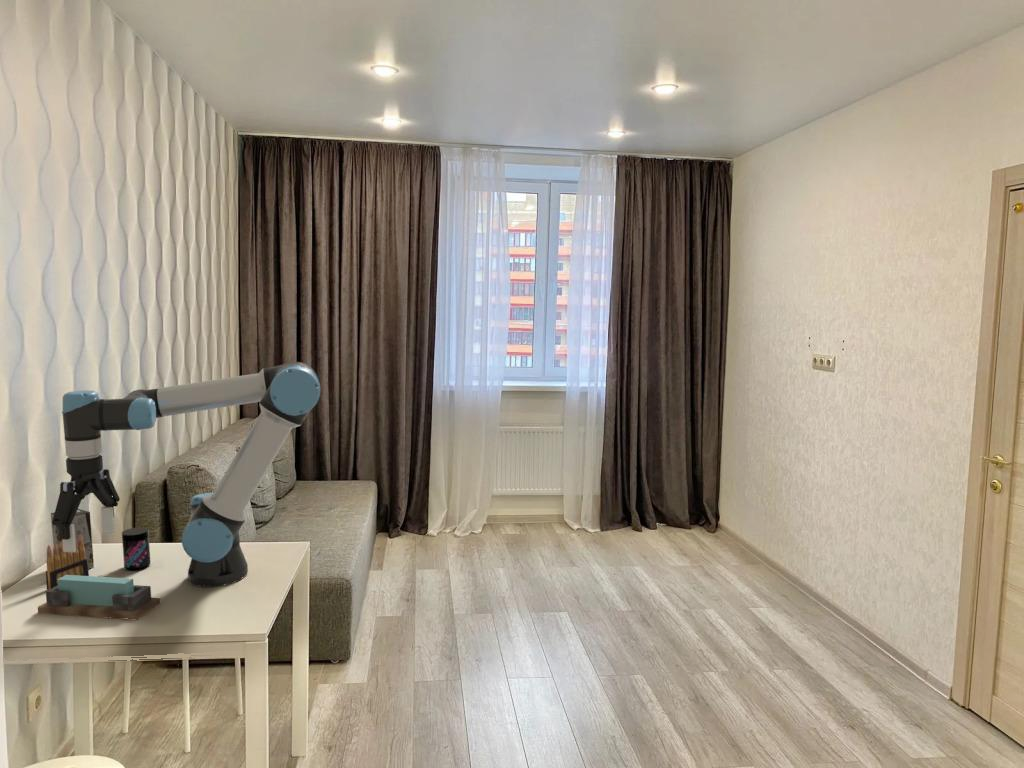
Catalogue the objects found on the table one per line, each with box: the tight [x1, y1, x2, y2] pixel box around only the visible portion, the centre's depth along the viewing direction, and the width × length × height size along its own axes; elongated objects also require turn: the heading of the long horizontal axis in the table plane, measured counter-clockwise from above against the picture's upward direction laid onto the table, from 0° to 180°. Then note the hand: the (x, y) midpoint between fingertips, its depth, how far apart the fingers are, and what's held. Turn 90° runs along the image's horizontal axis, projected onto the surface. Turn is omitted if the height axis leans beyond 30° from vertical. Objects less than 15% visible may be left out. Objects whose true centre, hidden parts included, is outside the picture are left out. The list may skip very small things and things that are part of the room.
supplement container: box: [121, 527, 151, 572], centre depth 206 cm, size 7×7×10 cm
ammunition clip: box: [45, 535, 90, 591], centre depth 195 cm, size 11×2×12 cm, turn 157°
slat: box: [57, 575, 135, 607], centre depth 180 cm, size 18×3×6 cm, turn 82°
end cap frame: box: [37, 584, 161, 620], centre depth 180 cm, size 26×9×5 cm, turn 82°
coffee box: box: [50, 508, 95, 570], centre depth 205 cm, size 9×6×16 cm
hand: (89, 541), depth 178 cm, fingers open, 13 cm apart
